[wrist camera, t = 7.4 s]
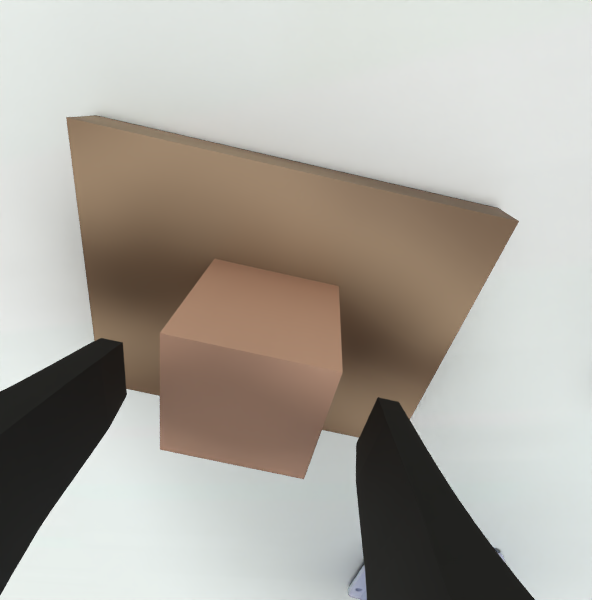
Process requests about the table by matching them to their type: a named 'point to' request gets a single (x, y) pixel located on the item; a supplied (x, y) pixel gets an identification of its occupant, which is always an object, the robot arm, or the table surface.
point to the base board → (277, 252)
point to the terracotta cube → (250, 368)
